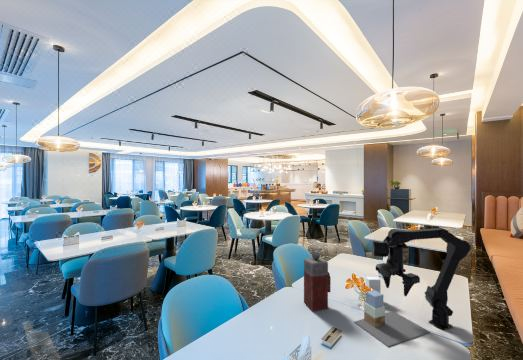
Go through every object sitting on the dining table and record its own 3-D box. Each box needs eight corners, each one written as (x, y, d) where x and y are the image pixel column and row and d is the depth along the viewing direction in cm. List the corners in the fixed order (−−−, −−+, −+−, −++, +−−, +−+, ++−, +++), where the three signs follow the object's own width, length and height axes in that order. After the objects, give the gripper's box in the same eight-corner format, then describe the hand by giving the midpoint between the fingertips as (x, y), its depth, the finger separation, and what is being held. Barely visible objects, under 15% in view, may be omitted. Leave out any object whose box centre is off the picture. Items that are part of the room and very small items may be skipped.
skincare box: (376, 298, 136) (376, 276, 136) (380, 302, 131) (380, 279, 131) (365, 298, 135) (365, 276, 135) (369, 302, 131) (369, 279, 131)
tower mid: (374, 308, 116) (374, 300, 116) (385, 315, 111) (385, 306, 111) (364, 311, 114) (364, 302, 114) (374, 318, 109) (374, 308, 109)
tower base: (374, 317, 116) (374, 308, 116) (385, 324, 111) (385, 315, 111) (364, 320, 114) (364, 311, 114) (374, 327, 109) (374, 318, 109)
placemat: (392, 311, 122) (392, 310, 122) (429, 332, 106) (429, 331, 106) (353, 322, 113) (353, 321, 113) (388, 347, 97) (388, 346, 97)
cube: (374, 300, 116) (374, 290, 116) (383, 305, 111) (383, 294, 111) (365, 303, 114) (365, 291, 114) (374, 308, 109) (374, 296, 109)
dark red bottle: (332, 308, 126) (332, 251, 126) (311, 311, 122) (312, 253, 122) (322, 300, 134) (323, 247, 134) (303, 302, 131) (303, 248, 131)
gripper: (366, 253, 120) (366, 286, 120) (402, 266, 103) (402, 304, 103) (384, 251, 125) (384, 282, 125) (420, 262, 107) (420, 299, 107)
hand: (396, 291), depth 115 cm, fingers open, 9 cm apart
